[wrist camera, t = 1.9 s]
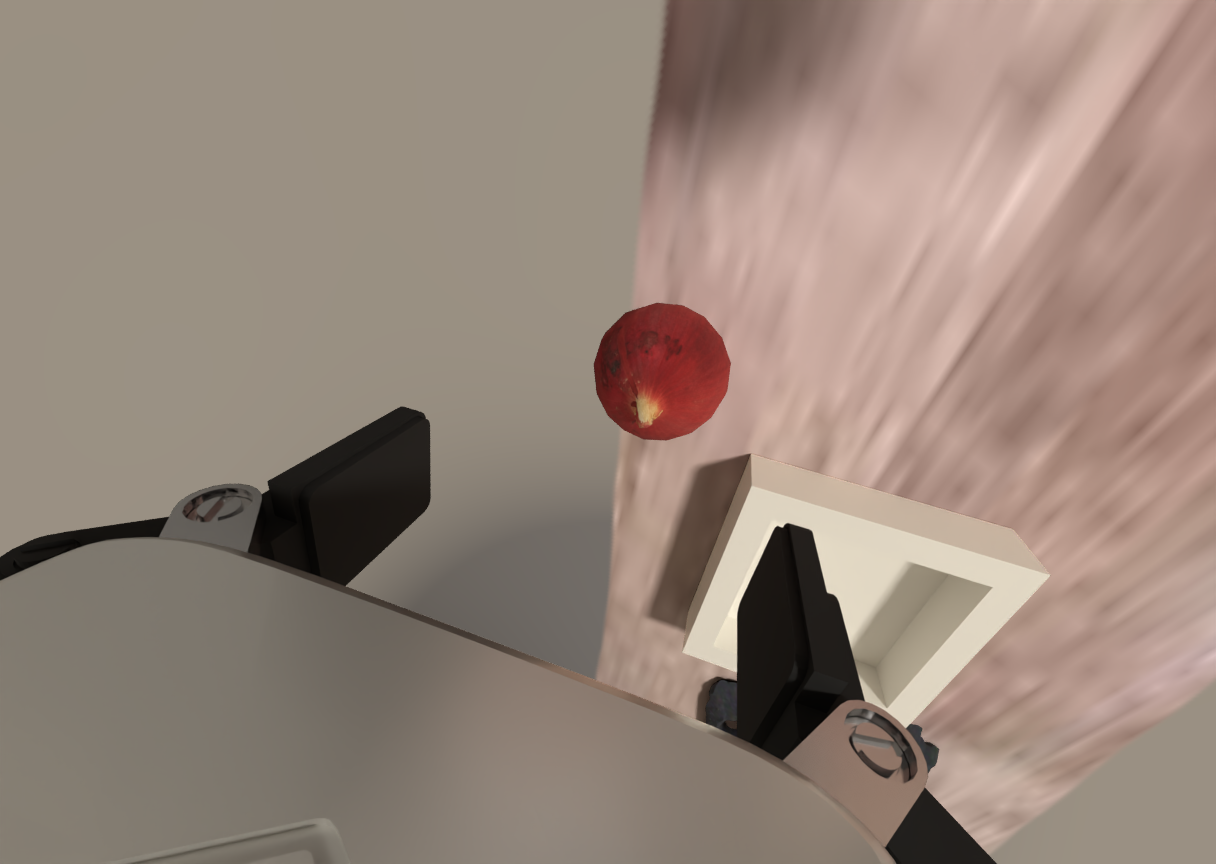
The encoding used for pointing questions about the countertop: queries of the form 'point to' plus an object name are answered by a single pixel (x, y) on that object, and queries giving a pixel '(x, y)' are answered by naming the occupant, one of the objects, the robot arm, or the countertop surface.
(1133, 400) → the countertop surface
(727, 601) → the dish
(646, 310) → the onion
